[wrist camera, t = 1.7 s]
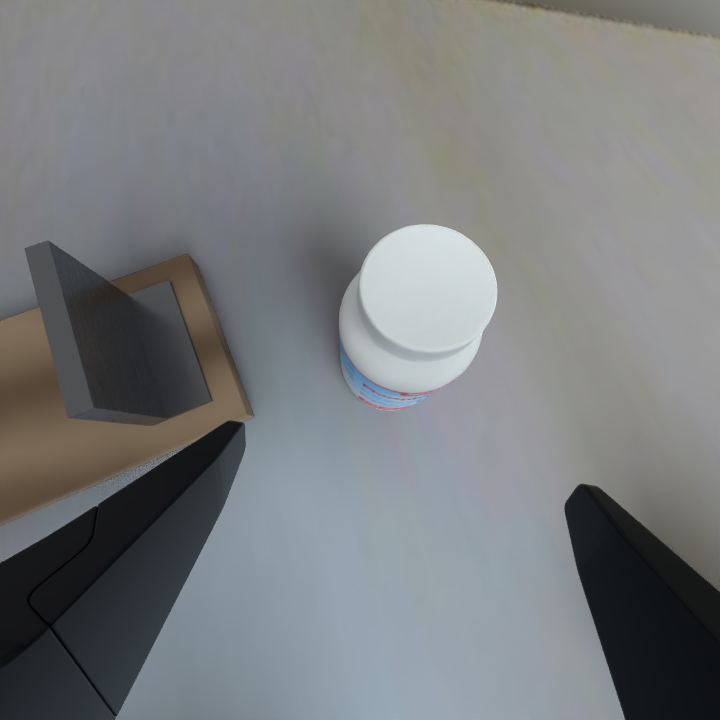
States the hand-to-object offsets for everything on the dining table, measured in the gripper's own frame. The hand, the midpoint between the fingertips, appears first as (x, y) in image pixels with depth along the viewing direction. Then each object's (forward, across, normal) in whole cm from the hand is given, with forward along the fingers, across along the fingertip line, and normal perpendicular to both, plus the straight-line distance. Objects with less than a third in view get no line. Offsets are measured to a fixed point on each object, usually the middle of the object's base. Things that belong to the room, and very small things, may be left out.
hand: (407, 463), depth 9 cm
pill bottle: (+12, 0, +5) cm, 13 cm away
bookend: (+10, +13, +5) cm, 17 cm away
